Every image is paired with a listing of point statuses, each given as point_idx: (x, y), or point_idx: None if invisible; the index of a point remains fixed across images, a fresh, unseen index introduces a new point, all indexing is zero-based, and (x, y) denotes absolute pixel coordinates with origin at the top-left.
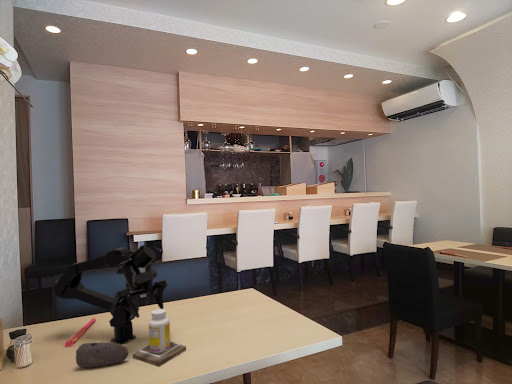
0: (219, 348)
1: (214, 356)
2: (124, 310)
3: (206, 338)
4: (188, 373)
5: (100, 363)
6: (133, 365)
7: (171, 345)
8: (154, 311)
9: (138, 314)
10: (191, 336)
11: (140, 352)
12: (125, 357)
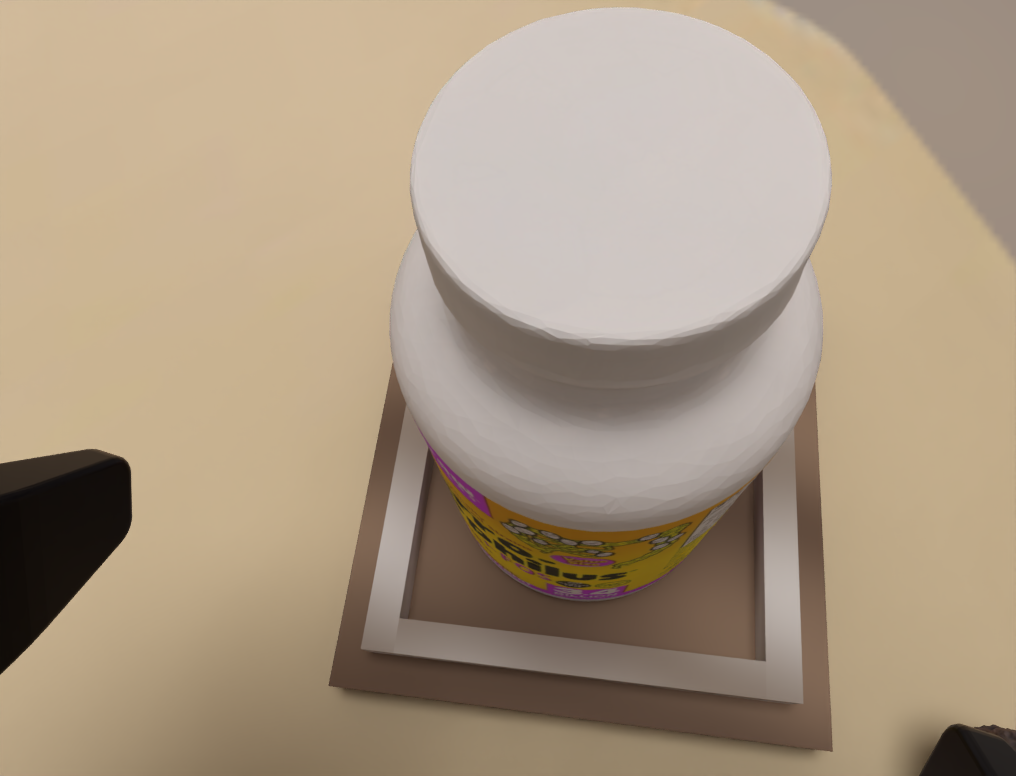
0: (308, 66)
1: (449, 35)
2: None
3: (129, 258)
4: None
5: None
6: (933, 591)
7: None
8: (685, 251)
9: (1004, 763)
10: (98, 430)
11: (797, 626)
12: None
